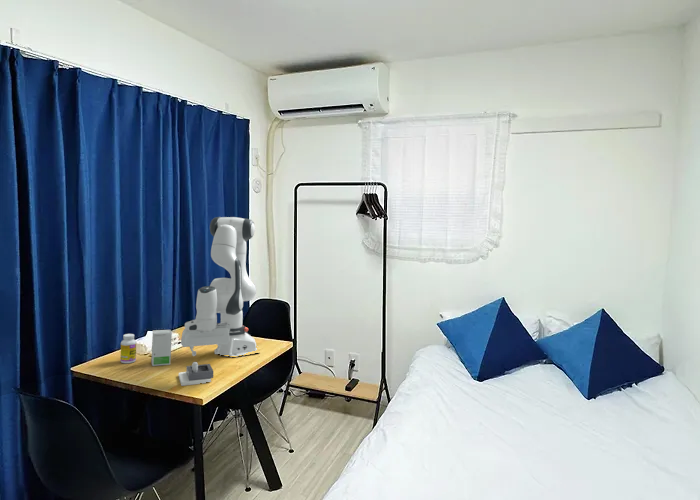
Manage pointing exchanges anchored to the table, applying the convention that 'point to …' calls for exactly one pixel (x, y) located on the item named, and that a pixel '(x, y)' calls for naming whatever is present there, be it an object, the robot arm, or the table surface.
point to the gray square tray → (200, 372)
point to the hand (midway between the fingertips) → (205, 354)
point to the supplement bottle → (128, 349)
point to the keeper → (185, 380)
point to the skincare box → (161, 347)
